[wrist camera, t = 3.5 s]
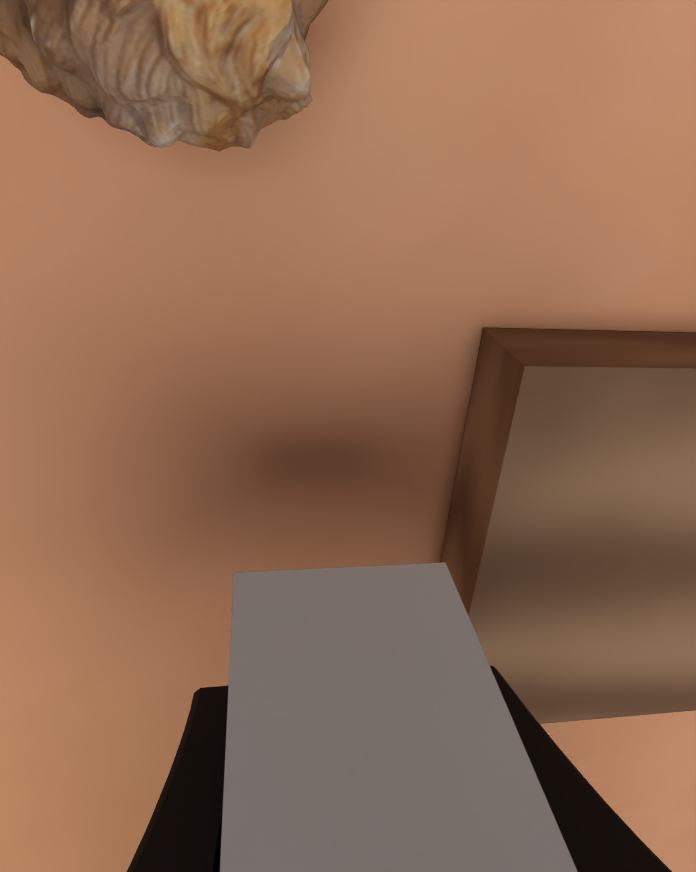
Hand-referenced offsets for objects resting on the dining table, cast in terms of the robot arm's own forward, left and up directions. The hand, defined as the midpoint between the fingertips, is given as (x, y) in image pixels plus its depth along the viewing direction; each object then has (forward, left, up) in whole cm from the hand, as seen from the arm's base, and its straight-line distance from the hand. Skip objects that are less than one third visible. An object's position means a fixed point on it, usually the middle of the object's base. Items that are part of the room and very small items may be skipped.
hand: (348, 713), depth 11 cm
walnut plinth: (-2, -13, -9) cm, 16 cm away
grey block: (0, 0, -2) cm, 2 cm away
